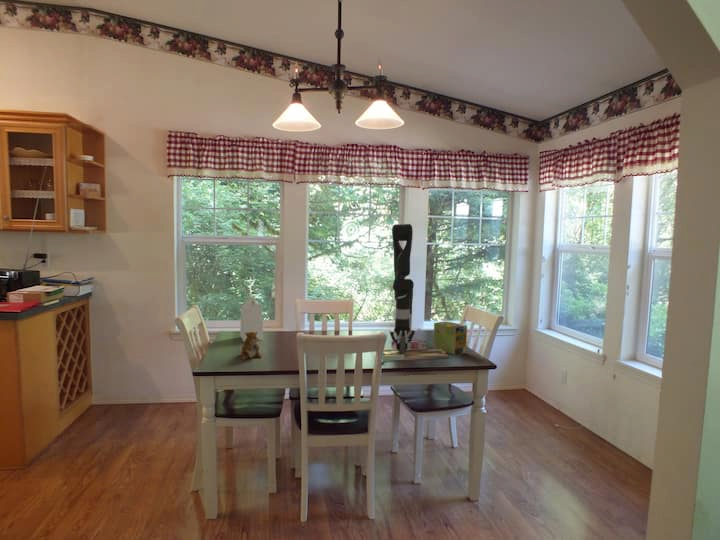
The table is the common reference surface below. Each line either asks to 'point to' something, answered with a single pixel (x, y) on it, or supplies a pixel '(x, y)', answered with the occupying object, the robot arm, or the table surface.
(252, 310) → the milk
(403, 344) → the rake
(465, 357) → the table surface
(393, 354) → the chip
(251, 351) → the stuffed squirrel
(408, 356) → the slot board
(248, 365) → the table surface
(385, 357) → the tray
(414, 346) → the candy bar box
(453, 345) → the protein box
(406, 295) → the robot arm
